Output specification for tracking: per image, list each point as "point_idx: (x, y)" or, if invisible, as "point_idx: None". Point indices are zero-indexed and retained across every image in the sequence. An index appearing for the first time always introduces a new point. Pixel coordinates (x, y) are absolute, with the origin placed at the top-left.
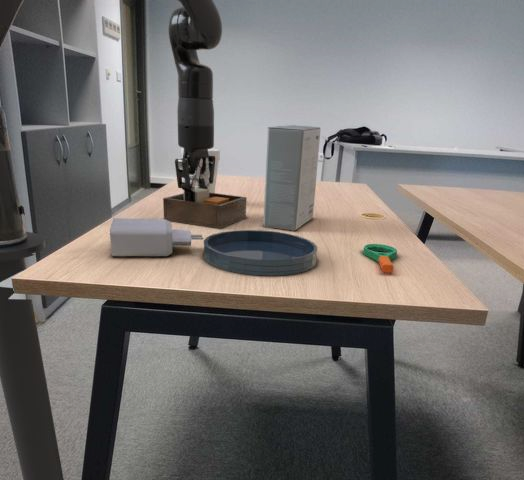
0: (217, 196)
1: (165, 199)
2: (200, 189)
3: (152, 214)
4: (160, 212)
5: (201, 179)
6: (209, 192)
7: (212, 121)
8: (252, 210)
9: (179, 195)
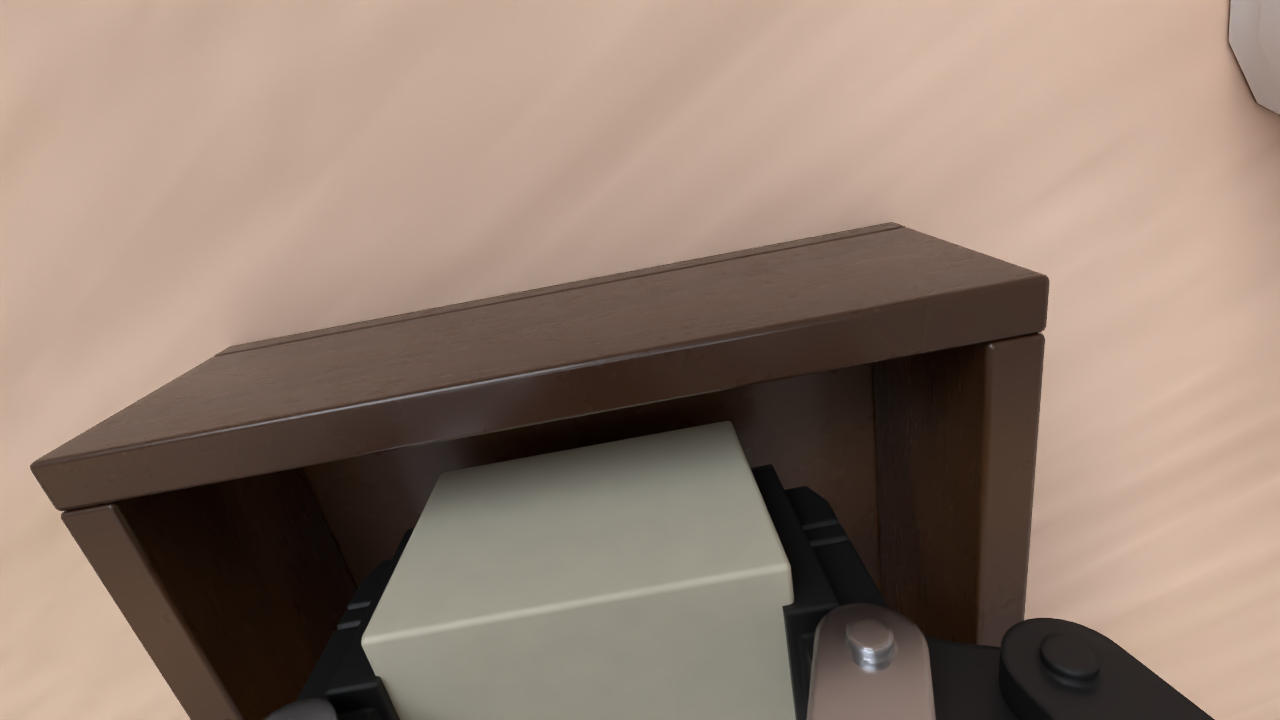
0: (957, 638)
1: (60, 494)
2: (686, 708)
3: (301, 25)
4: (475, 5)
5: (1018, 684)
6: (1025, 538)
7: None
8: (1244, 587)
9: (451, 438)
